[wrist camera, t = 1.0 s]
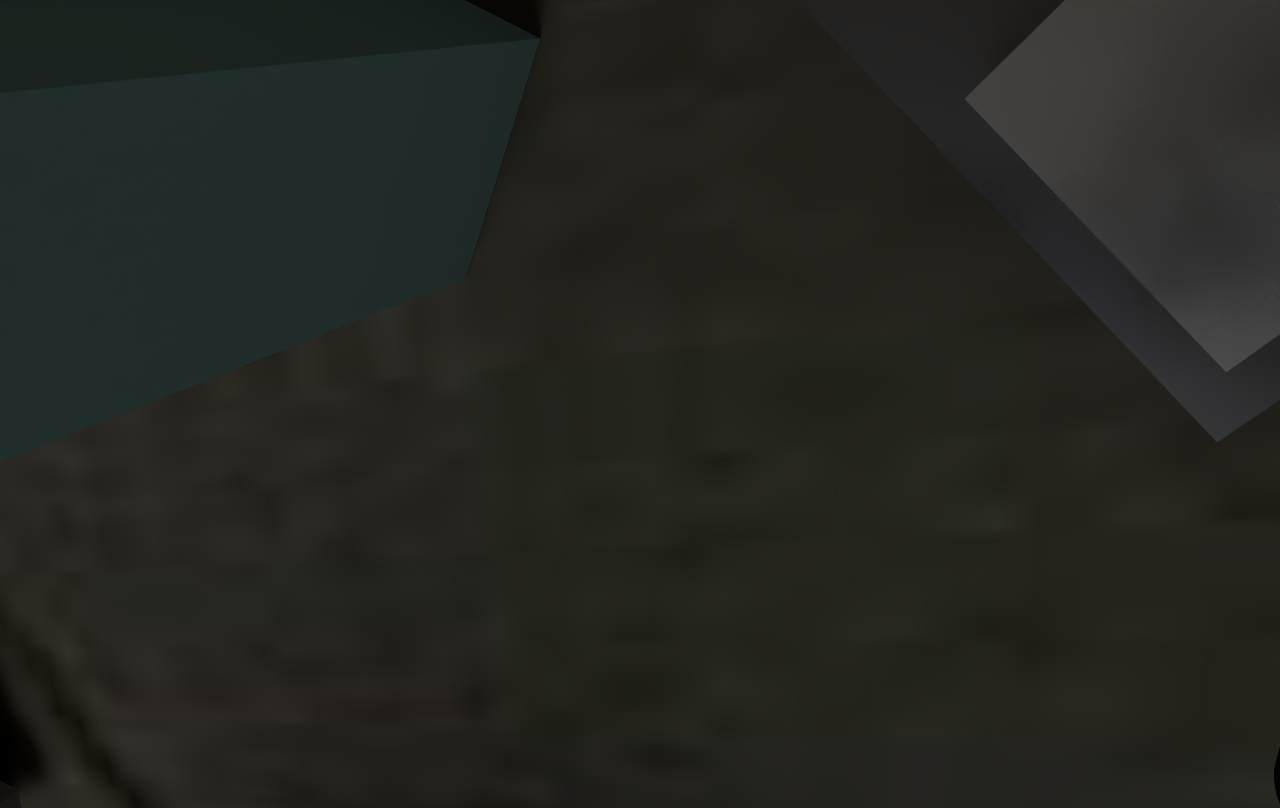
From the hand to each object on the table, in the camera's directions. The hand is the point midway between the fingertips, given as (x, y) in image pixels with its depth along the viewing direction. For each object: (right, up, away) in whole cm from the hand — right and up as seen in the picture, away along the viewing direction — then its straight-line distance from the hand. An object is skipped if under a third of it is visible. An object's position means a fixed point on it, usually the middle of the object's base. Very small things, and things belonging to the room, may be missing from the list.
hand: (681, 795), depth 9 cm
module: (-5, +9, +15) cm, 18 cm away
